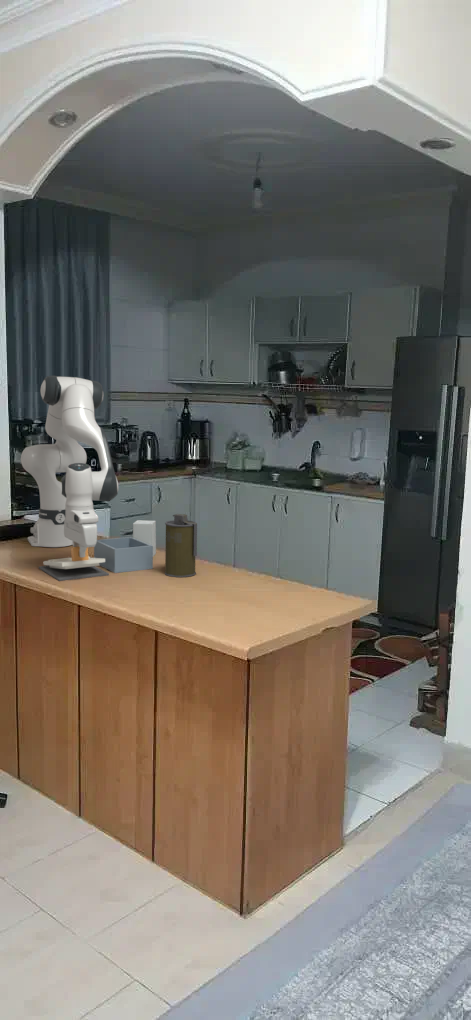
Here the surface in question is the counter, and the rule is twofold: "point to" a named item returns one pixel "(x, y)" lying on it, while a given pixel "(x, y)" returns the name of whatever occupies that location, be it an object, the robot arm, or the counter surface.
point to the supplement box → (145, 532)
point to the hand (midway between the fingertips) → (79, 555)
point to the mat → (73, 572)
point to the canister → (180, 547)
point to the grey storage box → (124, 554)
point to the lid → (74, 560)
